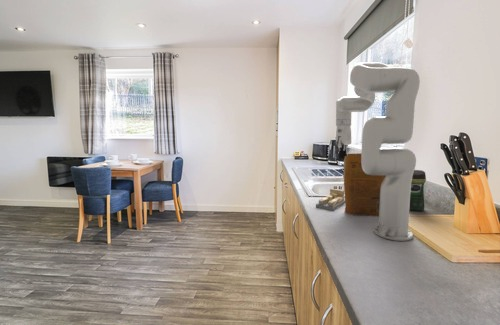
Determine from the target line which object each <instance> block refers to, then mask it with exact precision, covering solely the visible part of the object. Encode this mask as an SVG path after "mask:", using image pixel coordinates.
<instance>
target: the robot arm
mask: <svg viewBox="0 0 500 325" xmlns="http://www.w3.org/2000/svg"><path fill="white" fill-rule="evenodd" d="M349 82H350V84H351V85H352V86H353V90H354V93H355V95H356V96H355V95H354V96H342V97H341V98H340V99H339V98H338V99H337V100H336V102H335V104H336V105H335V108H336V109H335V126H336V134H335V144H336V146H337V147H338V150H339V152H338V153H339V156H338V157H339V159H344V158H345V156H348V153H347V151H348V147H349V145H351V144H352V128H351V127H352V113H363V112H366V111H368V110H369V109H370V108H371V107H372V106H373V105H374V104H375V100H376V93H392V94H391V95H390V97H389V98H388V100H387V102H386V106H385V115H384V116H373V117H370V118H368V119H367V120H366V121H365V123H364V125H363V128H362V134H361V165H362V169H363V171H364V173H366V174H367V175H373V176H375V175H376V176H377V175H386V176H385V178H384V179H383V181H382V183H381V187H380V205H379V216H378V225H376V226H374V227H373V233H374V234H375V235H377V236H378V237H380V238H383V239H386V240H390V241H398V242H405V241H406V242H407V241H410V240H412V239H413V238H414V233H413V232H412V231H411V230H409V220H410V210H409V207H410V193H411V182H412V176H413V173H414V170H416V165H417V158H416V155H415V153H414V152H413V151H412V150H411V149H409V148H405V147H382V145H401V144H406V143H408V142H410V141H411V139H412V138H413V132H414V123H415V121H414V119H415V106H416V100H417V96H418V93H419V89H420V83H421V80H420V75H419V73H418V72H417V70H415V69H413V68H409V67H402V66H399V67H398V66H393V67H392V66H391V67H389V66H388V65H387V64H385V63H383V62H359V63H355V65H354V66H353V67H352V68H351V70H350V72H349Z"/></svg>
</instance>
